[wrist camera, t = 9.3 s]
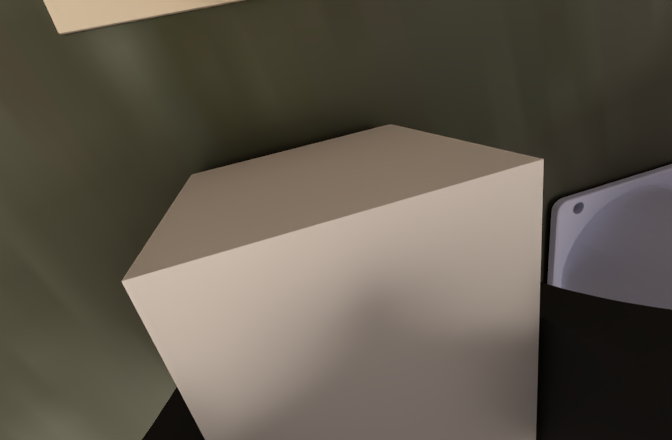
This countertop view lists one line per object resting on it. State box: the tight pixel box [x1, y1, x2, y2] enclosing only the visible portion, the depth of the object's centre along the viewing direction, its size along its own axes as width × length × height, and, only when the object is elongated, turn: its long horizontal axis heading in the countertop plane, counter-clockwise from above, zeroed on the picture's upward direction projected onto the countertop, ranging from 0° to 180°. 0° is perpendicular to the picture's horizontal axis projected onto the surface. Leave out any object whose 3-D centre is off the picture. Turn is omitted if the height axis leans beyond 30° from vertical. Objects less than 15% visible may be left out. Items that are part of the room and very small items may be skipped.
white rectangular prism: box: [121, 124, 544, 440], centre depth 9 cm, size 10×6×6 cm, turn 11°
